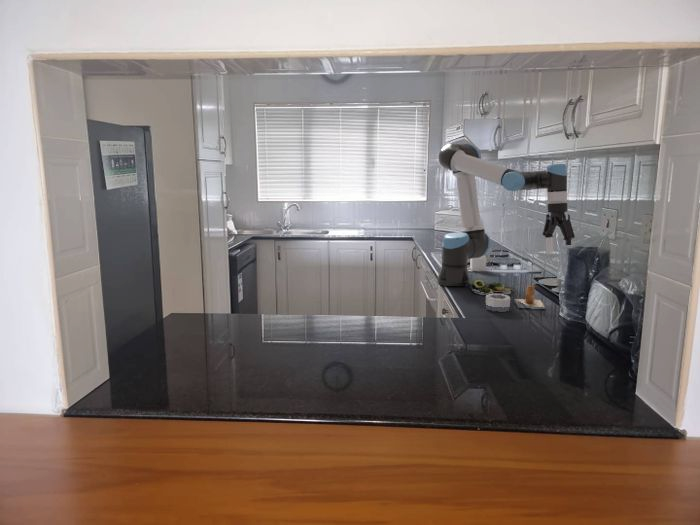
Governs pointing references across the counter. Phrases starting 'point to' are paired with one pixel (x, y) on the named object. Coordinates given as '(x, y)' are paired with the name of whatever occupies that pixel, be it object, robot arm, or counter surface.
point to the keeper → (531, 298)
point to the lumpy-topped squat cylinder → (486, 257)
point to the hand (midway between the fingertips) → (558, 254)
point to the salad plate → (489, 287)
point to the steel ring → (497, 300)
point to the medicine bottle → (478, 263)
